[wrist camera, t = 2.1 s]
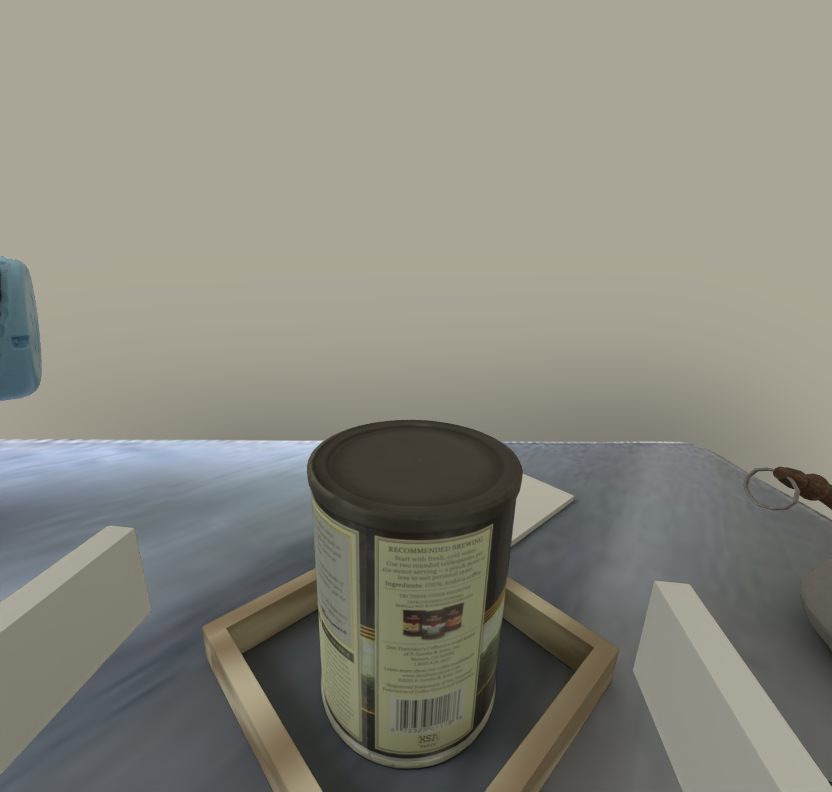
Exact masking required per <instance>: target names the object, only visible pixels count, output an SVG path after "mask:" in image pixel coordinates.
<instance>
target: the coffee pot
mask: <svg viewBox="0 0 832 792" xmlns="http://www.w3.org/2000/svg"><path fill="white" fill-rule="evenodd" d="M758 471H773V475H774V476H775V477H776V478H777V479H778V480H779V481H780V482H782V483H783V484H784V485H786V486H787V487H789V488H792V489H795V493H794V497H793V501H791V502H790V503H788V504H787V505H785V506H784V507H768V506H765V505H762V504H759V503H758V502H757V501H756V500H755V499H754V498H753V497H752V496H751V494H750V491H749V489H748V487H747V486H748V483H749V479H750V477H751V476H753V475H754V474H755V473H757V472H758ZM743 486H744V489H745V491H746V494H747V496H748V497H749V498H750V499H751V500H752V501H753V502H754V503H755V504H756V505H758V506H761V507H764V508H767V509H771V510H787V509H789V508H790V507H792V506H793V505H795V504H796V503H797V502H798V498H799V495H800V496H802V497H803V498H805V499H808V500H819V501H821V502H822V503H824V504H825V505H826V506H828V507H829V508H830V509H832V485H830V484H829V483H828V481H827V480H826V479H825V478H823V477H822V476H820V475H816V474H806V475H805V474H804V473H803V472H802V471H799V470H795V469H791V468H784V467H777V468H775V469H770V468H757V469H754V470H752V471H751V472H750V473H749V474H747V475H746V477H745V480H744V484H743ZM801 600H802V604H803V607H804V610H805V612H806V615H807V617H808V619H809V621H810V623H811V625H812V626H813V628H814V629H815V630H816V632H817V633H818V635H819V636H820V637H821V638H822V639H823V641H824V642H825V643H826V644H827V646H828V647H829V649H830V651H831V652H832V558H830V559H829V560H827V561H826V562H824V563H823V564H821V565H820V566H818V567H817V568H815V569H814V570H812V571H811V572H810V573H809V574H808V575H807V576H806V577H805V578H804V579H803V580H802V581H801Z"/></svg>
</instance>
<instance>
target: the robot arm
mask: <svg viewBox="0 0 832 792" xmlns="http://www.w3.org/2000/svg"><path fill="white" fill-rule="evenodd" d="M41 372H42V368H41V346H40V335H39V324H38V316H37V309H36V302H35V296H34V290H33V285H32V281H31V277H30V273H29V270H28V268H27V267H26V266H25V264H23V263H22V262H20V261H18V260H12V259H6V258H5V257H3V256H2V257H0V401H4V400H11V399H18V398H23V397H26V396H29V395H31V394H32V393H33V392H35V391H36V390H37V388H38V387H39V385H40V381H41V374H42V373H41ZM150 612H151V607H150V602H149V597H148V592H147V587H146V582H145V577H144V572H143V567H142V562H141V557H140V552H139V547H138V542H137V537H136V532H135V528H130V527H120V526H110V525H108V526H107V527H105V528H104V529H102V530H101V531H100V532H98V533H97V534H95V535H94V536H93V537H91V538H90V539H88V540H87V541H86V542H84V543H83V544H81V545H80V546H79V547H77V548H76V549H74V550H73V551H72V552H70V553H69V554H67V555H66V556H65V557H63V558H62V559H60V560H59V561H58V562H56V563H55V564H53V565H52V566H51V567H49V568H48V569H46V570H45V571H44V572H42V573H41V574H39V575H38V576H37V577H35V578H34V579H32V580H31V581H30V582H28V583H27V584H25V585H24V586H23V587H21V588H20V589H18V590H17V591H16V592H14V593H13V594H11V595H10V596H9V597H7V598H6V599H4V600H3V601H2V602H0V775H1V774H2V773H3V771H4V770H5V769H6V768H7V767H8V766H9V765H10V764H11V763H12V762H13V761H14V760H15V758H16V757H17V756H18V755H19V754H20V753H21V752H22V751H23V750H24V749H25V748H26V746H27V745H28V744H29V743H30V742H31V741H32V740H33V739H34V738H35V737H36V736H37V735H38V733H39V732H40V731H41V730H42V729H43V728H44V727H45V726H46V725H47V724H48V723H49V722H50V720H51V719H52V718H53V717H54V716H55V715H56V714H57V713H58V712H59V711H60V710H61V709H62V707H63V706H64V705H65V704H66V703H67V702H68V701H69V700H70V699H71V698H72V697H73V696H74V694H75V693H76V692H77V691H78V690H79V689H80V688H81V687H82V686H83V685H84V684H85V683H86V681H87V680H88V679H89V678H90V677H91V676H92V675H93V674H94V673H95V672H96V671H97V670H98V668H99V667H100V666H101V665H102V664H103V663H104V662H105V661H106V660H107V659H108V658H109V657H110V655H111V654H112V653H113V652H114V651H115V650H116V649H117V648H118V647H119V646H120V645H121V644H122V642H123V641H124V640H125V639H126V638H127V637H128V636H129V635H130V634H131V633H132V632H133V631H134V629H135V628H136V627H137V626H138V625H139V624H140V623H141V622H142V621H143V620H144V619H145V618H146V616H147V615H148V614H149V613H150ZM633 672H634V674H635V677H636V679H637V682H638V684H639V686H640V689H641V691H642V694H643V696H644V699H645V701H646V703H647V706H648V708H649V711H650V713H651V716H652V718H653V720H654V723H655V725H656V728H657V730H658V733H659V735H660V737H661V740H662V742H663V745H664V747H665V750H666V752H667V754H668V757H669V759H670V762H671V764H672V767H673V769H674V771H675V774H676V776H677V779H678V781H679V784H680V786H681V788H682V791H683V792H832V782H828V781H827V779H826V778H825V776H824V775H823V774H822V772H821V771H820V769H819V768H818V767H817V765H816V764H815V762H814V761H813V759H812V758H811V757H810V755H809V754H808V752H807V751H806V749H805V748H804V747H803V745H802V744H801V742H800V741H799V739H798V738H797V737H796V735H795V734H794V732H793V731H792V730H791V728H790V727H789V725H788V724H787V722H786V721H785V720H784V718H783V717H782V715H781V714H780V712H779V711H778V710H777V708H776V707H775V705H774V704H773V702H772V701H771V700H770V698H769V697H768V695H767V694H766V693H765V691H764V690H763V688H762V687H761V685H760V684H759V683H758V681H757V680H756V678H755V677H754V675H753V674H752V673H751V671H750V670H749V668H748V667H747V665H746V664H745V663H744V661H743V660H742V658H741V657H740V656H739V654H738V653H737V651H736V650H735V648H734V647H733V646H732V644H731V643H730V641H729V640H728V638H727V637H726V636H725V634H724V633H723V631H722V630H721V628H720V627H719V626H718V624H717V623H716V621H715V620H714V619H713V617H712V616H711V614H710V613H709V611H708V610H707V609H706V607H705V606H704V604H703V603H702V601H701V600H700V599H699V597H698V596H697V594H696V593H695V591H694V590H693V589H692V587H691V586H690V584H682V583H673V582H663V581H654V585H653V589H652V593H651V597H650V602H649V606H648V610H647V614H646V618H645V622H644V627H643V631H642V635H641V639H640V643H639V648H638V652H637V656H636V660H635V664H634V669H633Z"/></svg>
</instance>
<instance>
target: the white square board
mask: <svg viewBox="0 0 832 792" xmlns="http://www.w3.org/2000/svg"><path fill="white" fill-rule="evenodd" d="M573 500H574V496H573V495H571V494H569V493H566V492H564V491H562V490H559V489H557V488H555V487H552V486H550V485H548V484H546V483H543V482H541V481H539V480H536V479H534V478H532V477H529V476H527V475H525V474H523V476H522V483H521V488H520V492H519V494H518V496H517V498H516V506H515V515H514V523H513V533H512V542H511V547H512V546H513V545H514V544H516V543H517V542H518V541H520V540H521V539H522V538H524V537H525V536H527V535H528V534H529V533H531V532H532V531H533V530H535V529H536V528H537V527H539V526H540V525H541V524H543V523H544V522H546V521H547V520H548V519H550V518H551V517H552V516H554V515H555V514H556V513H558V512H559V511H560V510H562V509H563V508H565V507H566V506H567V505H569V504H570V503H571V502H573Z"/></svg>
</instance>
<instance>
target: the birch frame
mask: <svg viewBox="0 0 832 792" xmlns="http://www.w3.org/2000/svg"><path fill="white" fill-rule="evenodd" d="M317 609H318V595H317V578H316V568H315V569H313V570H311V571H309V572H307V573H305V574H303V575H301V576H299V577H297V578H295V579H293V580H292V581H290V582H288V583H286V584H284V585H282V586H280V587H278V588H276V589H274V590H272V591H270V592H268V593H266V594H264V595H263V596H261V597H259V598H257V599H255V600H253V601H251V602H249V603H247V604H245V605H243V606H241V607H239V608H237V609H235V610H234V611H232V612H230V613H228V614H226V615H224V616H222V617H220V618H218V619H216V620H214V621H212V622H210V623H208V624H207V625H205V626H203V627H202V630H203V637H204V643H205V649H206V656H207V660H208V662H209V664H210V666H211V668H212V670H213V672H214V674H215V676H216V678H217V680H218V682H219V684H220V686H221V688H222V690H223V692H224V694H225V696H226V698H227V700H228V702H229V704H230V706H231V708H232V710H233V712H234V714H235V716H236V718H237V720H238V722H239V724H240V726H241V728H242V730H243V732H244V734H245V736H246V738H247V740H248V742H249V744H250V746H251V748H252V750H253V752H254V754H255V756H256V758H257V760H258V762H259V764H260V766H261V768H262V770H263V772H264V774H265V776H266V778H267V780H268V782H269V784H270V786H271V788H272V790H273V792H322V790H321V788H320V787H319V785H318V783H317V782H316V780H315V778H314V776H313V775H312V773H311V771H310V770H309V768H308V766H307V765H306V763H305V761H304V760H303V758H302V756H301V754H300V753H299V751H298V749H297V748H296V746H295V744H294V743H293V741H292V739H291V737H290V736H289V734H288V732H287V731H286V729H285V727H284V726H283V724H282V722H281V721H280V719H279V717H278V715H277V714H276V712H275V710H274V709H273V707H272V705H271V704H270V702H269V700H268V698H267V697H266V695H265V693H264V692H263V690H262V688H261V687H260V685H259V683H258V682H257V680H256V678H255V676H254V675H253V673H252V671H251V670H250V668H249V666H248V665H247V663H246V661H245V659H244V658H243V656H242V654H243V653H244V652H246V651H248V650H249V649H251V648H253V647H254V646H256V645H258V644H259V643H261V642H263V641H265V640H266V639H268V638H270V637H271V636H273V635H275V634H276V633H278V632H280V631H281V630H283V629H285V628H286V627H288V626H290V625H292V624H293V623H295V622H297V621H298V620H300V619H302V618H303V617H305V616H307V615H308V614H310V613H312V612H313V611H315V610H317ZM502 618H504V619H505V620H507V621H508V622H509V623H511V624H512V625H513V626H515V627H516V628H517V629H519V630H520V631H521V632H523V633H524V634H525V635H527V636H528V637H530V638H531V639H532V640H534V641H535V642H536V643H538V644H539V645H540V646H542V647H543V648H544V649H546V650H547V651H548V652H550V653H551V654H553V655H554V656H555V657H557V658H558V659H559V660H561V661H562V662H563V663H565V664H566V665H567V666H569V667H570V668H571V669H573V670H574V671H576V672H575V674H574V675H573V676H572V677H571V679H570V680H569V681H568V683H567V684H566V685H565V687H564V688H563V689H562V691H561V692H560V693H559V695H558V696H557V697H556V699H555V700H554V701H553V702H552V704H551V705H550V706H549V708H548V709H547V710H546V712H545V713H544V714H543V716H542V717H541V718H540V720H539V721H538V722H537V723H536V725H535V726H534V727H533V729H532V730H531V731H530V733H529V734H528V735H527V737H526V738H525V739H524V741H523V742H522V743H521V744H520V746H519V747H518V748H517V750H516V751H515V752H514V754H513V755H512V756H511V758H510V759H509V760H508V762H507V763H506V764H505V766H504V767H503V768H502V769H501V771H500V772H499V773H498V775H497V776H496V777H495V779H494V780H493V781H492V783H491V784H490V785H489V787H488V788H487V789H486V790H485V792H539V791H540V790H541V788H542V787H543V785H544V784H545V782H546V781H547V779H548V778H549V776H550V774H551V773H552V771H553V770H554V768H555V767H556V765H557V764H558V762H559V761H560V759H561V758H562V756H563V755H564V753H565V752H566V750H567V749H568V747H569V745H570V744H571V742H572V741H573V739H574V738H575V736H576V735H577V733H578V732H579V730H580V729H581V727H582V726H583V724H584V723H585V721H586V720H587V718H588V716H589V715H590V713H591V712H592V710H593V709H594V707H595V706H596V704H597V703H598V701H599V700H600V698H601V697H602V695H603V694H604V692H605V690H606V689H607V687H608V686H609V684H610V683H611V681H612V677H613V673H614V669H615V664H616V660H617V656H618V652H619V649H618V648H617V647H615V646H614V645H612V644H611V643H609V642H608V641H606V640H605V639H603V638H602V637H600V636H598V635H597V634H595V633H594V632H592V631H591V630H589V629H588V628H586V627H585V626H583V625H582V624H580V623H579V622H577V621H575V620H574V619H572V618H571V617H569V616H568V615H566V614H565V613H563V612H562V611H560V610H559V609H557V608H555V607H554V606H552V605H551V604H549V603H548V602H546V601H545V600H543V599H542V598H540V597H539V596H537V595H535V594H534V593H532V592H531V591H529V590H528V589H526V588H525V587H523V586H522V585H520V584H519V583H517V582H515V581H514V580H512V579H511V578H509V577H508V576H507V582H506V590H505V599H504V607H503V617H502Z"/></svg>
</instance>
